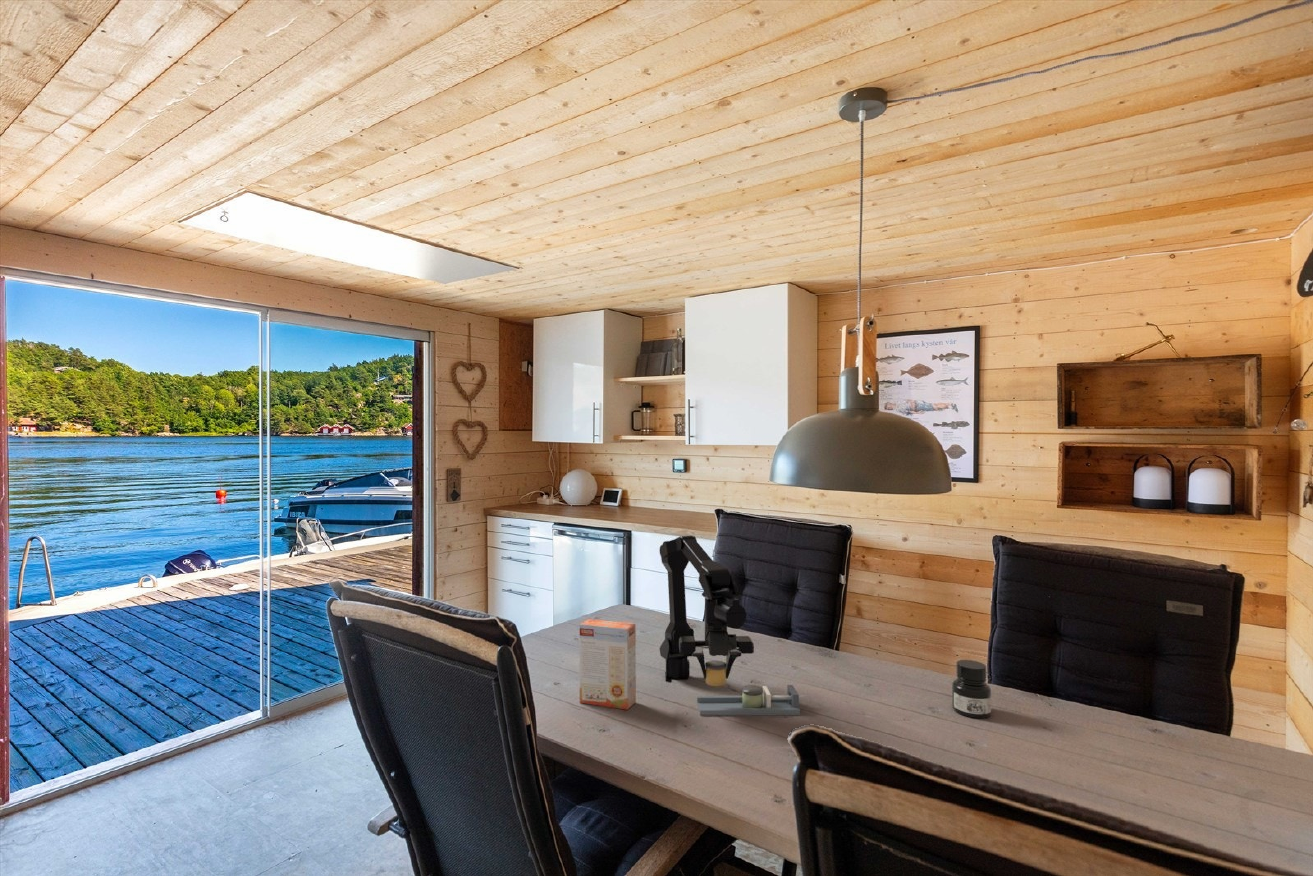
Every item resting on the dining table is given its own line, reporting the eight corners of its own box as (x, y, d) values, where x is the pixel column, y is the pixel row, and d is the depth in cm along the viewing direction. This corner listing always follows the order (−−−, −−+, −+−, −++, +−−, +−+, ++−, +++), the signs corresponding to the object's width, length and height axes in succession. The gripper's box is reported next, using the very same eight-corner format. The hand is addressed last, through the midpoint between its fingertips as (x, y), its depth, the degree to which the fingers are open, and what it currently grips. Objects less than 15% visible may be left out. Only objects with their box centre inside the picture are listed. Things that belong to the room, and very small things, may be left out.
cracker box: (636, 702, 163) (636, 622, 163) (627, 711, 158) (627, 629, 158) (589, 694, 168) (589, 617, 168) (578, 703, 163) (578, 623, 163)
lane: (700, 717, 154) (700, 697, 154) (697, 702, 163) (697, 683, 163) (799, 716, 154) (799, 696, 154) (791, 702, 163) (791, 683, 163)
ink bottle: (952, 715, 155) (952, 667, 155) (948, 702, 163) (948, 656, 164) (995, 721, 152) (995, 672, 152) (990, 707, 160) (989, 661, 160)
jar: (706, 686, 156) (706, 668, 156) (704, 678, 161) (704, 660, 161) (727, 686, 156) (727, 668, 156) (724, 678, 161) (725, 660, 161)
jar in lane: (743, 712, 156) (743, 693, 156) (740, 703, 161) (740, 685, 161) (765, 711, 156) (765, 693, 156) (761, 702, 161) (761, 685, 161)
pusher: (766, 710, 156) (766, 695, 156) (762, 701, 162) (762, 685, 162) (814, 710, 156) (814, 694, 156) (808, 700, 162) (808, 685, 162)
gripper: (681, 627, 150) (681, 691, 150) (757, 626, 151) (757, 690, 151) (678, 614, 162) (678, 673, 161) (750, 613, 162) (750, 673, 162)
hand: (715, 678), depth 159 cm, fingers closed on jar, 5 cm apart
